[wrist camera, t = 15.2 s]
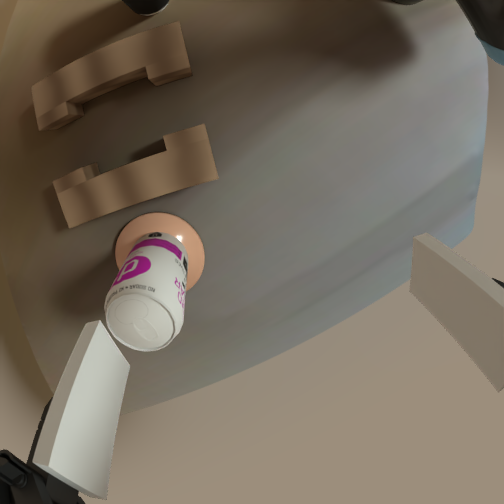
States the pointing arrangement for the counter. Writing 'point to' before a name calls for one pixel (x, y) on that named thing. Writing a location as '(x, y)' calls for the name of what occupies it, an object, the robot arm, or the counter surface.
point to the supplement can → (149, 293)
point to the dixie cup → (146, 6)
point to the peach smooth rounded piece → (165, 225)
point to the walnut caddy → (107, 79)
